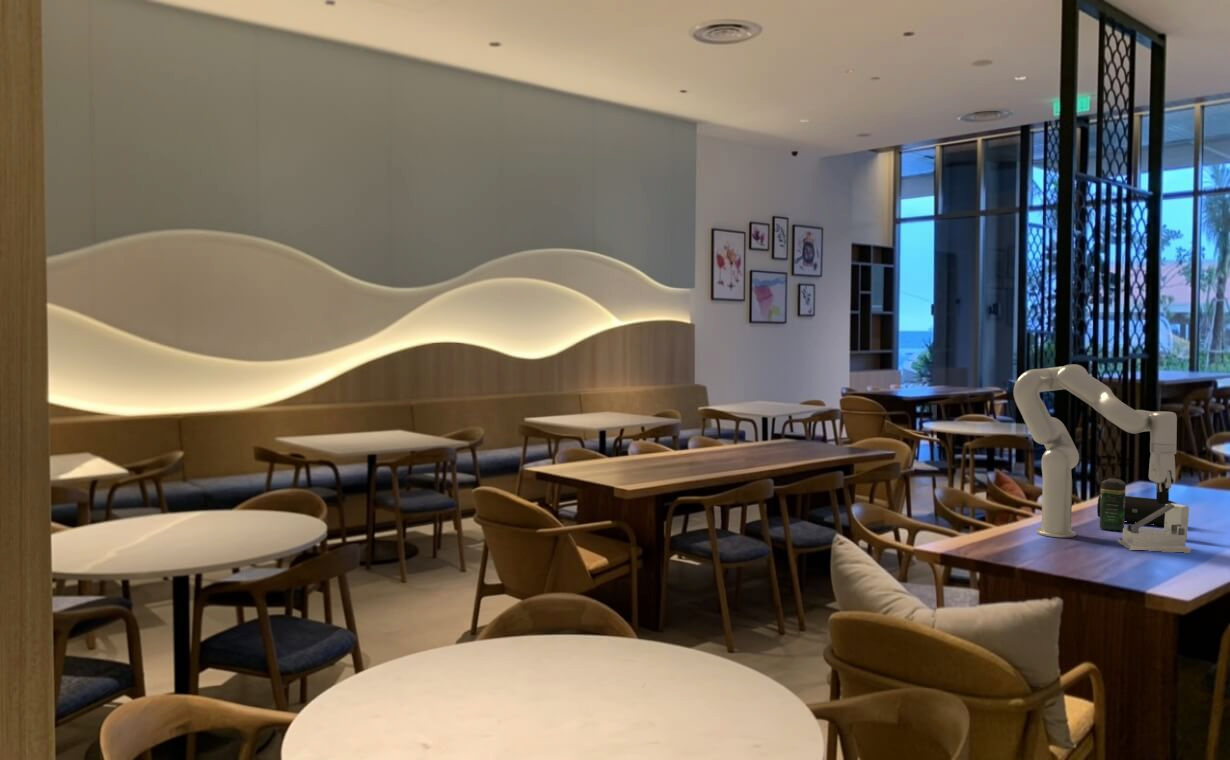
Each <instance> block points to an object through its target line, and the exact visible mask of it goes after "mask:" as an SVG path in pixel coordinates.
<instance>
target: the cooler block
mask: <svg viewBox="0 0 1230 760" xmlns="http://www.w3.org/2000/svg"><path fill="white" fill-rule="evenodd" d="M1132 525H1133V524H1129V523H1127V524H1126V527H1124V528H1123V530H1122V538H1117V543H1118V542H1119V543H1121V544H1122V545H1124V546H1126V547H1127V548H1129V549H1130V550H1153V551H1162V552H1161V553H1174V552H1184V553H1183V554H1191V552H1192V549H1191V547H1188V546H1187V545H1186V543H1187V540H1186V535H1184V528H1179V529H1178V531H1177V525H1173V524H1171V530H1167V529H1164V528H1163V529H1162V528H1161V529H1160V528H1141V527H1140V528H1137V527H1132V530H1131V529H1130V528H1129V526H1132ZM1119 543H1118V544H1119ZM1121 544H1120V545H1121ZM1122 545H1121V546H1122ZM1124 546H1123V547H1124ZM1126 547H1125V548H1126ZM1127 548H1126V549H1127ZM1129 549H1128V550H1129ZM1130 550H1129V551H1130Z"/></svg>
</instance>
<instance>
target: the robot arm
mask: <svg viewBox="0 0 1230 760" xmlns="http://www.w3.org/2000/svg"><path fill="white" fill-rule="evenodd" d="M1059 390H1060V391H1062V390H1066V391H1068V392H1069V393H1071V394H1072V395H1074V396H1075V397H1077V398H1079V399H1080V400H1081V401H1083V402H1084V403H1085V404H1087V405H1089V406H1090V407H1092V408H1093V409H1094V410H1095V411H1096V412H1097V413H1099V414H1100V415H1102V416H1103V417H1104V418H1105V419H1106V420H1107V421H1109V422H1111V423H1112V424H1114V426H1115V425H1116V426H1117V427H1118V428H1119V429H1121V430H1122V431H1124V432H1126V433H1130V434H1136V435H1137V434H1139V433H1143V432H1149V436H1150V437H1149V438H1150V440H1149V441H1150V442H1149V452H1150V457H1149V468H1148V479H1149V480H1150V481H1151V482H1153V483H1154V485H1155V491H1156V493H1155V494H1156V497H1155V499H1156V503H1158V504H1169V499H1170V497H1169V496H1170V489H1171V488H1172V484H1175V482H1176V461H1175V460H1176V458H1175V455H1176V454H1177V443H1178V442H1177V441H1178V440H1177V439H1178V438H1177V431H1178V430H1177V429H1178V428H1177V427H1178V425H1177V424H1178V422H1177V421H1178V416H1177V414H1176V412H1173V411H1164V410H1163V411H1150V410H1144V409H1134V408H1132V407H1131V406H1129V405H1127V404H1126V403H1124V402H1122V400H1120V399H1119V398H1118V397H1117V396H1115V394H1114V392H1113V391H1112V389H1111V388H1110V387H1109V386H1108V385H1106V384H1104V383H1103V382H1101V381H1100V380H1099V379H1097V378H1095V377H1093V376H1092V375H1090V374H1089V373H1088V371H1087V369H1086V368H1085V367H1083V365H1080V364H1077V363H1076V364H1074V363H1073V364H1066V365H1064V366H1063V365H1062V366H1055V367H1054V366H1053V367H1046V368H1045V367H1044V368H1034V369H1033V368H1032V369H1028V370H1026V371H1024V372H1023V373H1022V374H1020V376H1019V377H1018V378H1017V379H1016V381H1015V384H1014V386H1013V398H1014V401H1015V404H1016V407H1017V408H1018V410H1019V413H1020V414H1021V416H1022V419H1023V421H1024V423H1025V425H1026V427H1027V430H1028V431H1029V433H1030V436H1031V438H1032V439H1033V441H1034V442H1036V443H1037V444H1039V445H1044V448H1045V449H1046V450H1044V453H1043V454H1042V457H1041V465H1040V466H1041V473H1042V475H1041V476H1042V478H1041V479H1042V488H1041V489H1042V495H1041V497H1042V498H1041V527H1039V528H1037V529H1036V533H1037V534H1039V535H1041V536H1045V537H1051V538H1065V539H1066V538H1074V536H1075V537H1076V535H1077V532H1076V531H1074V530H1072V507H1073V478H1072V476H1073V475H1072V469H1074V468H1075V467H1076V466H1077V465H1078V463H1079V460H1080V454H1079V451H1078V449H1077V447H1076V445H1075V443H1074V441H1073V439H1072V437H1071V435H1070V433H1069V431H1068V429H1067V427H1066V426H1065V424H1064V423H1063V421H1061V420H1060V419H1058V418H1057V417H1053V416H1051V414H1050V413H1049V411H1048V408H1047V407H1046V404H1045V403H1044V402H1043V400H1042V398H1041V396H1040V393H1043V392H1051V391H1059Z"/></svg>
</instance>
